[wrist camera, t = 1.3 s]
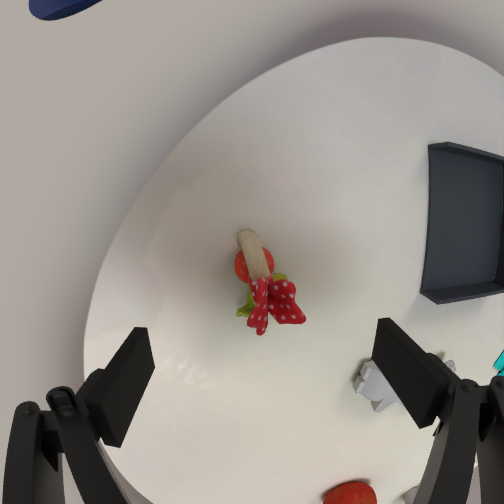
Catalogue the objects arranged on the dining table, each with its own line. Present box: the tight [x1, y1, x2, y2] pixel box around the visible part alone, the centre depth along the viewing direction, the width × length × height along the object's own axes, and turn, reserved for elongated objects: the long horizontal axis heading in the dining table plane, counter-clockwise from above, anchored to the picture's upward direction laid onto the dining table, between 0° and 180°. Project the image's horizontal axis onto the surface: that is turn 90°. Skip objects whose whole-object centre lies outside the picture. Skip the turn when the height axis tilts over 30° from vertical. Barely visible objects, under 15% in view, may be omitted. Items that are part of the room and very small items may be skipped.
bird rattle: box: [234, 229, 306, 335], centre depth 25 cm, size 6×11×9 cm
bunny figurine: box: [353, 360, 456, 413], centre depth 32 cm, size 10×5×15 cm
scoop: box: [420, 142, 504, 305], centre depth 28 cm, size 27×18×4 cm
